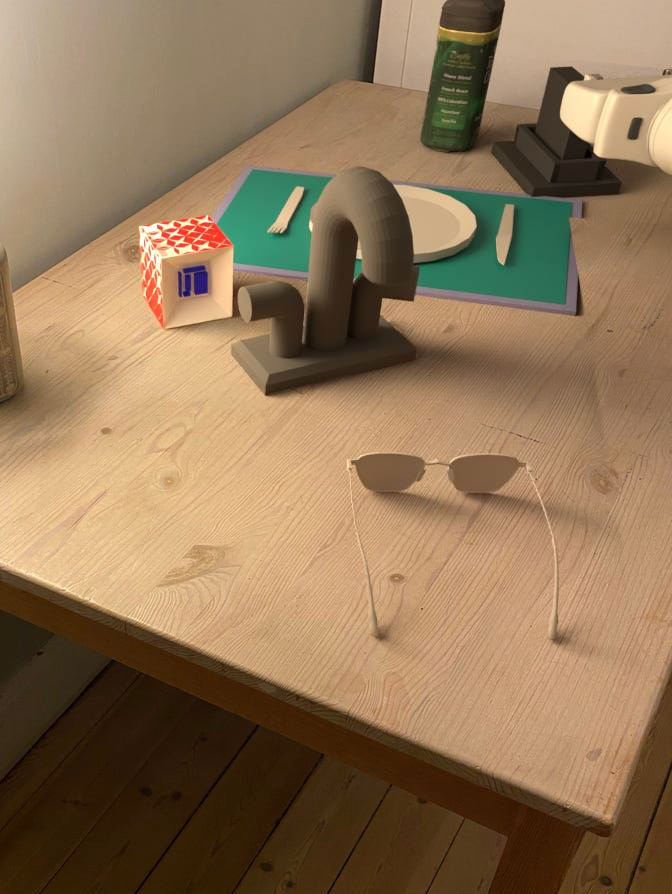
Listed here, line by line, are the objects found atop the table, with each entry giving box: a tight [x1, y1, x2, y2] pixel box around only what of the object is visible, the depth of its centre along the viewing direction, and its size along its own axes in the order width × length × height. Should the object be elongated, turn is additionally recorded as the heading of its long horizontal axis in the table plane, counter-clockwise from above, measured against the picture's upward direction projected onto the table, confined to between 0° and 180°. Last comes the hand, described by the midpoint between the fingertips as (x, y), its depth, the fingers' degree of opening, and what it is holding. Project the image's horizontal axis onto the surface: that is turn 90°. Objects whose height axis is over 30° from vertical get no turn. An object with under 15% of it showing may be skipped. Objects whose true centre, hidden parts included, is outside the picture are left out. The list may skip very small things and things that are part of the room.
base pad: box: [490, 122, 623, 198], centre depth 128 cm, size 16×12×4 cm
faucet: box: [230, 166, 420, 396], centre depth 88 cm, size 18×16×20 cm
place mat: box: [210, 165, 583, 317], centre depth 117 cm, size 45×30×2 cm
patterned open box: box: [138, 214, 234, 330], centre depth 102 cm, size 8×8×8 cm
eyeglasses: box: [346, 451, 560, 641], centre depth 75 cm, size 15×18×4 cm
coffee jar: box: [419, 0, 506, 153], centre depth 130 cm, size 10×8×19 cm
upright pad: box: [534, 66, 590, 160], centre depth 124 cm, size 10×3×10 cm, turn 6°
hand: (628, 78), depth 110 cm, fingers open, 8 cm apart
